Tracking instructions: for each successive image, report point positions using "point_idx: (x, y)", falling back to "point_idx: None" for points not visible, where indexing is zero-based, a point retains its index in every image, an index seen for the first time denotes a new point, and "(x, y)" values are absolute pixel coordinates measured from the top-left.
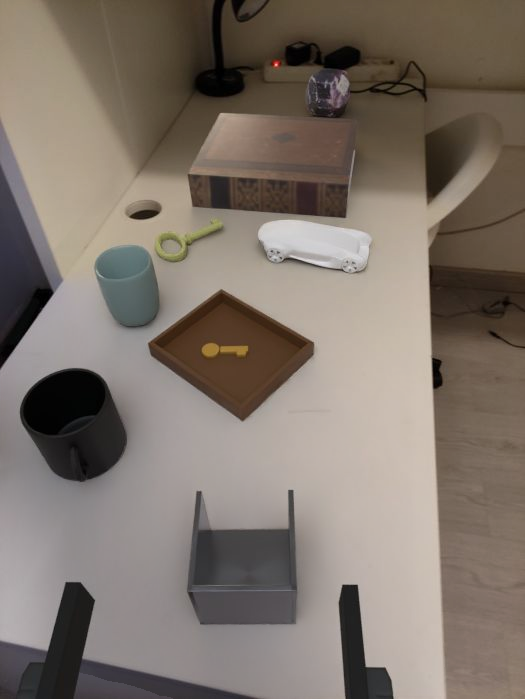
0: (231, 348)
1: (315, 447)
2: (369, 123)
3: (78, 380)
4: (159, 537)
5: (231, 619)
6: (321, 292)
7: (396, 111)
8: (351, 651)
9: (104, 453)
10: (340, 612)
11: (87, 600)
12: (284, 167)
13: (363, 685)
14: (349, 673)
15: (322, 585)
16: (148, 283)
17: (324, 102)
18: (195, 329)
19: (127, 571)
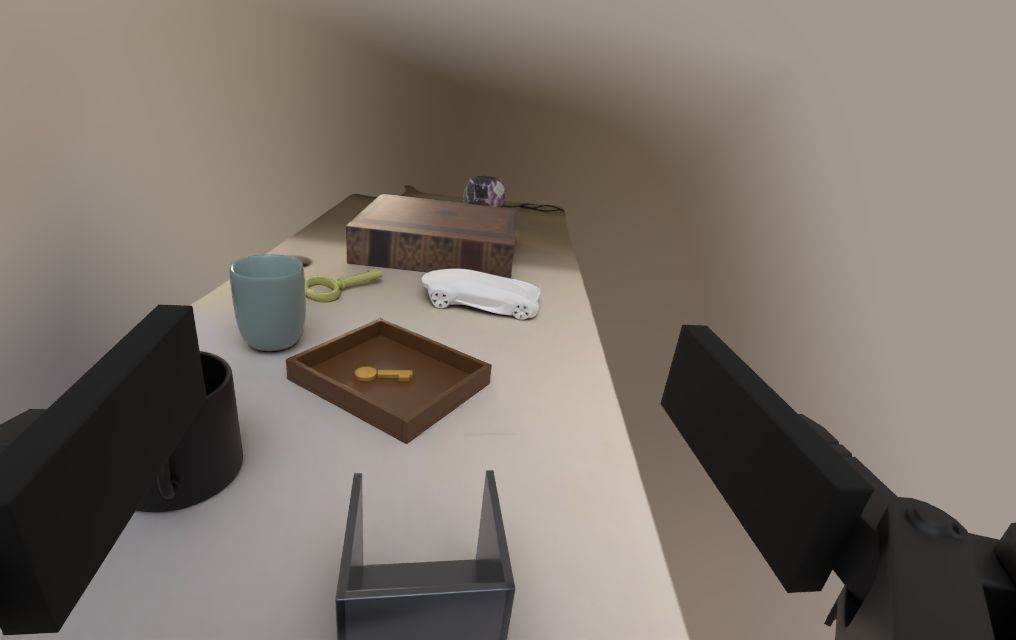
0: (391, 372)
1: (501, 470)
2: (523, 224)
3: None
4: (279, 582)
5: None
6: (492, 333)
7: (546, 220)
8: (741, 380)
9: (208, 464)
10: (675, 397)
11: (195, 369)
12: (448, 230)
13: (789, 412)
14: (755, 400)
15: (531, 633)
16: (296, 291)
17: (481, 201)
18: (346, 355)
19: (219, 634)
